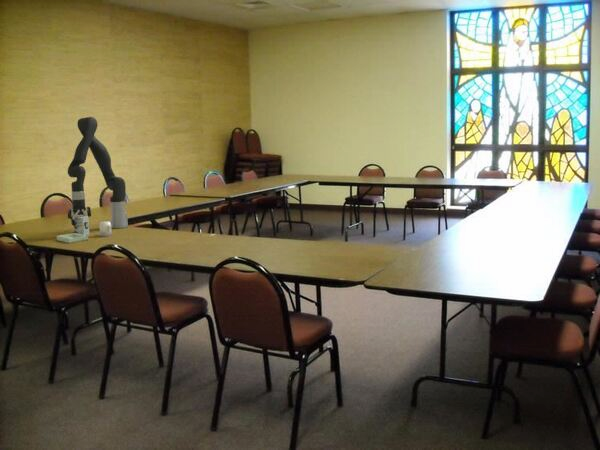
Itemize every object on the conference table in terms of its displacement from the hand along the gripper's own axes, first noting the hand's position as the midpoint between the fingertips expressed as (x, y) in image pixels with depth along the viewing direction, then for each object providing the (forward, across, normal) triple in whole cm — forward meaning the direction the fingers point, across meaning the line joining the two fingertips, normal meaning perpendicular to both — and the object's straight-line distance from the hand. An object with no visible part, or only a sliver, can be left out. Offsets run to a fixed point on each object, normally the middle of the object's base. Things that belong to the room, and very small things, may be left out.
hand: (80, 224), depth 401 cm
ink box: (+7, 0, 0) cm, 7 cm away
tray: (+7, +11, +11) cm, 17 cm away
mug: (+6, -10, +14) cm, 19 cm away
